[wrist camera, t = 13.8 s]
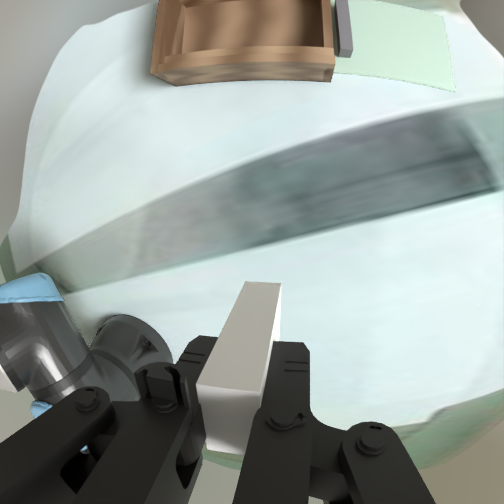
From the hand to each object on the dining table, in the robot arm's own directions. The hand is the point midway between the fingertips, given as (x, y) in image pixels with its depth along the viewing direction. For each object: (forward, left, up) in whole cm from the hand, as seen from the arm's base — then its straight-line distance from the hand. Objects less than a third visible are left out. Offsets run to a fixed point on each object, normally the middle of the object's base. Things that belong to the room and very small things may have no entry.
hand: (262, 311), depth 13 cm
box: (-6, +24, -25) cm, 36 cm away
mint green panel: (+13, +25, -26) cm, 38 cm away
